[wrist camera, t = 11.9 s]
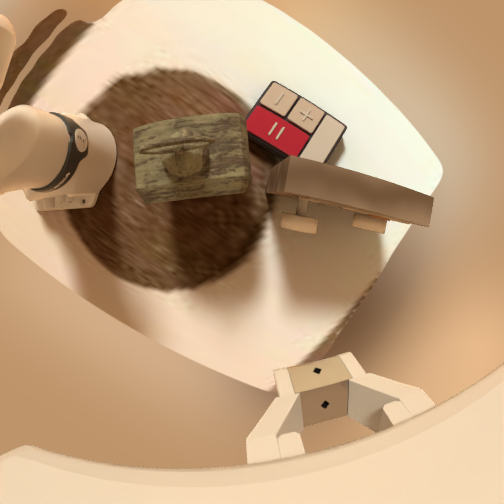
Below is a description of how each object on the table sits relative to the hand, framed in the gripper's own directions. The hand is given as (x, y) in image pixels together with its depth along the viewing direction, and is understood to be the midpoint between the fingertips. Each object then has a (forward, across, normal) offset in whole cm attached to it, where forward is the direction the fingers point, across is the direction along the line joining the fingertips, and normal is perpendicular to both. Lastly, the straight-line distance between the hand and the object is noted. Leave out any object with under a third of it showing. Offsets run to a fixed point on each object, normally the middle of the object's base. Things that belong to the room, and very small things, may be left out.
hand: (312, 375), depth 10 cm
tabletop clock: (+39, +6, -12) cm, 41 cm away
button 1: (+33, -7, -4) cm, 34 cm away
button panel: (+39, -14, -5) cm, 42 cm away
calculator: (+40, -10, -16) cm, 44 cm away
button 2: (+33, -18, -2) cm, 38 cm away
